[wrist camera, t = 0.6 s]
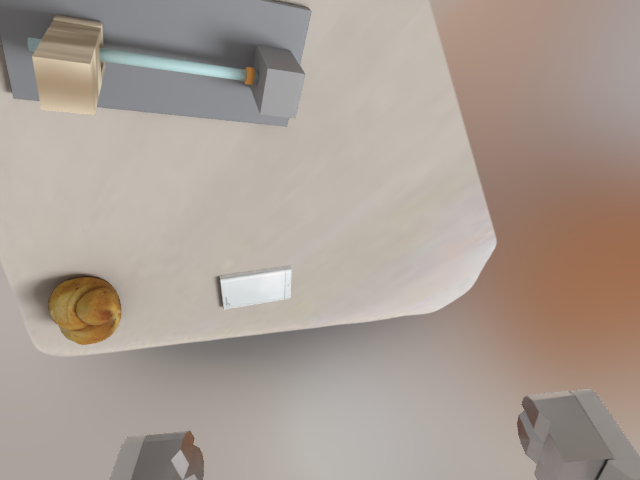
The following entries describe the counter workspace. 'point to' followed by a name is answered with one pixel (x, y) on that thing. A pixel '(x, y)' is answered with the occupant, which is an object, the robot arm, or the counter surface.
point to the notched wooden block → (70, 65)
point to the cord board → (176, 54)
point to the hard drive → (255, 287)
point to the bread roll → (85, 309)
